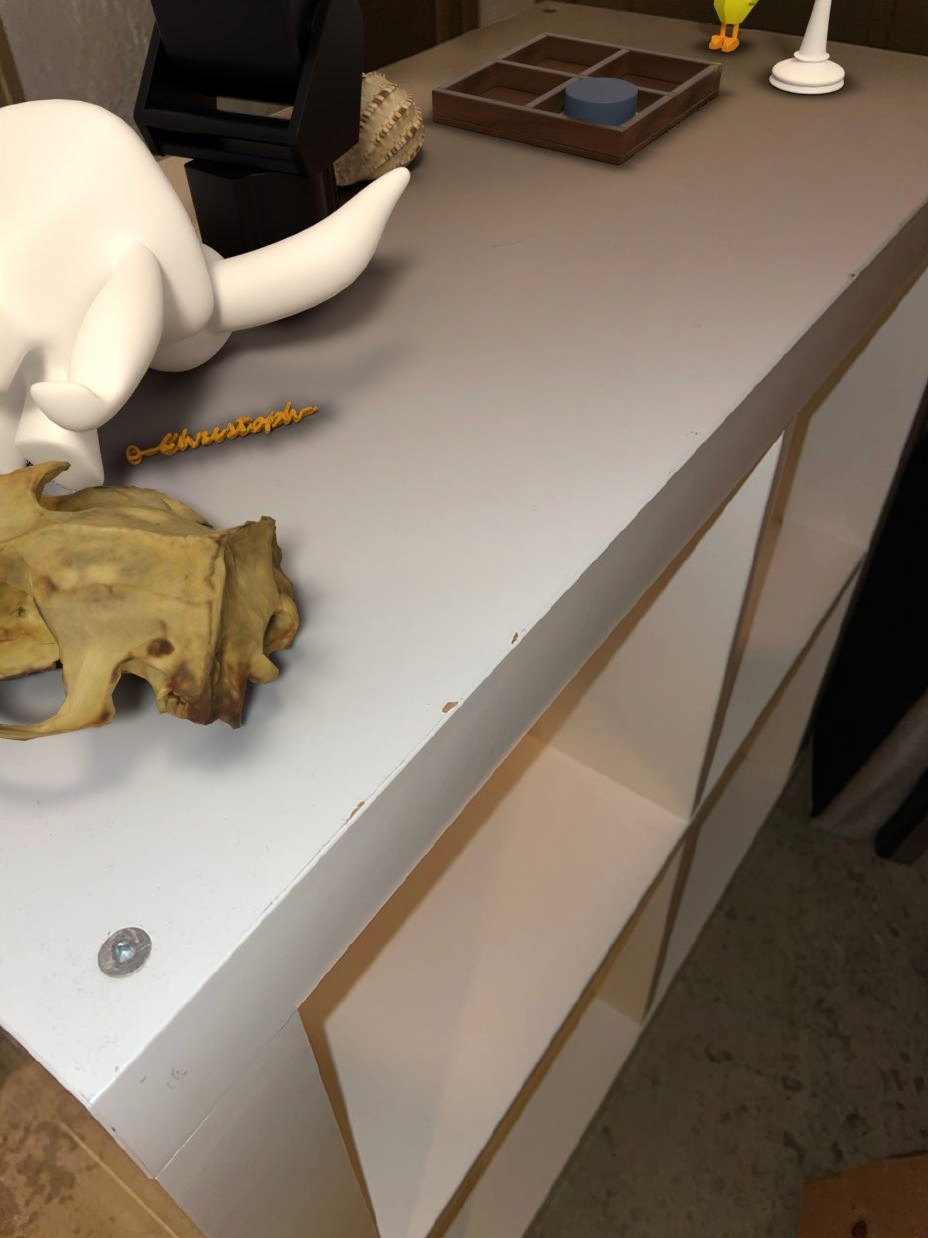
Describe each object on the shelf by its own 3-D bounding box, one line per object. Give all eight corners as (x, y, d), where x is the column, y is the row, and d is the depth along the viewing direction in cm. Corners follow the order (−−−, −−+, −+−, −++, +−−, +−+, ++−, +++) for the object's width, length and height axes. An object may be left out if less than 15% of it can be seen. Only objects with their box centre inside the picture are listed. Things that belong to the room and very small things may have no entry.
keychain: (131, 472, 38) (123, 448, 37) (129, 463, 38) (121, 440, 38) (322, 422, 39) (317, 399, 39) (316, 415, 40) (311, 392, 40)
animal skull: (-118, 642, 35) (-232, 490, 30) (295, 536, 36) (243, 376, 32) (-205, 876, 27) (-374, 717, 23) (328, 731, 28) (264, 553, 24)
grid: (619, 165, 57) (622, 131, 55) (432, 121, 62) (431, 89, 61) (718, 94, 64) (723, 62, 63) (544, 60, 70) (545, 31, 69)
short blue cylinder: (613, 142, 58) (615, 107, 56) (550, 128, 59) (551, 93, 58) (647, 119, 60) (650, 84, 58) (586, 106, 62) (588, 72, 60)
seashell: (380, 261, 55) (450, 128, 58) (345, 183, 50) (424, 39, 52) (270, 237, 58) (341, 110, 60) (226, 160, 52) (306, 24, 55)
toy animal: (310, 557, 35) (436, 220, 41) (70, 309, 25) (288, -82, 31) (-50, 542, 43) (102, 267, 50) (-332, 356, 34) (-96, 44, 40)
